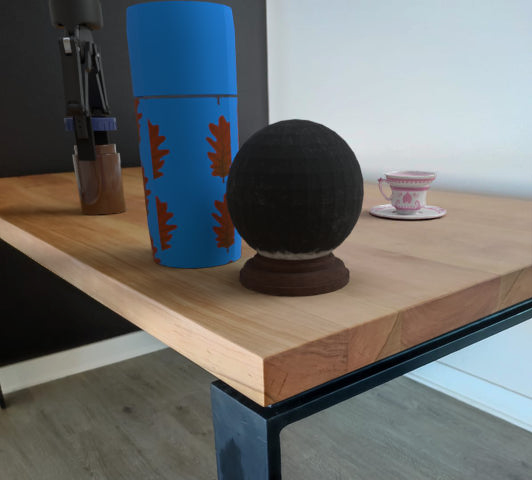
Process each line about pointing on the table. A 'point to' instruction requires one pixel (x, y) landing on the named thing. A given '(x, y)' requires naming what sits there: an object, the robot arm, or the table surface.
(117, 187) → the jar
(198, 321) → the table surface
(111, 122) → the lid
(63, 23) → the robot arm
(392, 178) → the teacup
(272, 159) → the black crystal ball
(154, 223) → the thermos
